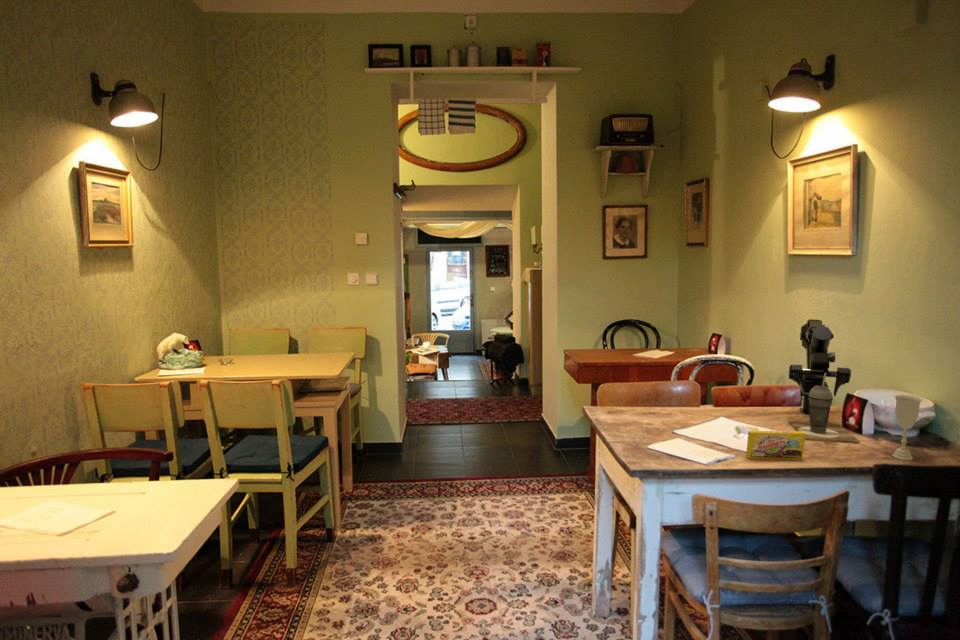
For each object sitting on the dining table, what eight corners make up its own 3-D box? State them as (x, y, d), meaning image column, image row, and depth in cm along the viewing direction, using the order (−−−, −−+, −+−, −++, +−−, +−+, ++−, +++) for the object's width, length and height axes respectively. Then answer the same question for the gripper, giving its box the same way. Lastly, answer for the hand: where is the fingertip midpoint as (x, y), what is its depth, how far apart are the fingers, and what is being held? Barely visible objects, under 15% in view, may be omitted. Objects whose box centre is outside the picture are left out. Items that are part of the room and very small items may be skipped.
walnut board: (788, 422, 229) (788, 419, 229) (838, 425, 226) (838, 422, 226) (805, 439, 209) (805, 436, 209) (859, 443, 206) (859, 440, 206)
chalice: (887, 451, 199) (893, 394, 196) (914, 455, 196) (920, 396, 194) (890, 458, 192) (896, 399, 190) (918, 462, 189) (924, 402, 187)
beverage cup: (816, 427, 220) (820, 369, 217) (835, 433, 213) (840, 373, 211) (800, 429, 217) (804, 371, 214) (819, 436, 210) (824, 375, 208)
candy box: (748, 459, 191) (750, 432, 189) (745, 457, 193) (747, 430, 192) (803, 460, 191) (806, 432, 190) (800, 457, 193) (802, 430, 192)
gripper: (790, 341, 227) (790, 379, 218) (852, 344, 219) (854, 383, 211) (788, 359, 235) (788, 396, 226) (847, 363, 228) (849, 401, 219)
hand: (819, 394), depth 220 cm, fingers open, 9 cm apart
